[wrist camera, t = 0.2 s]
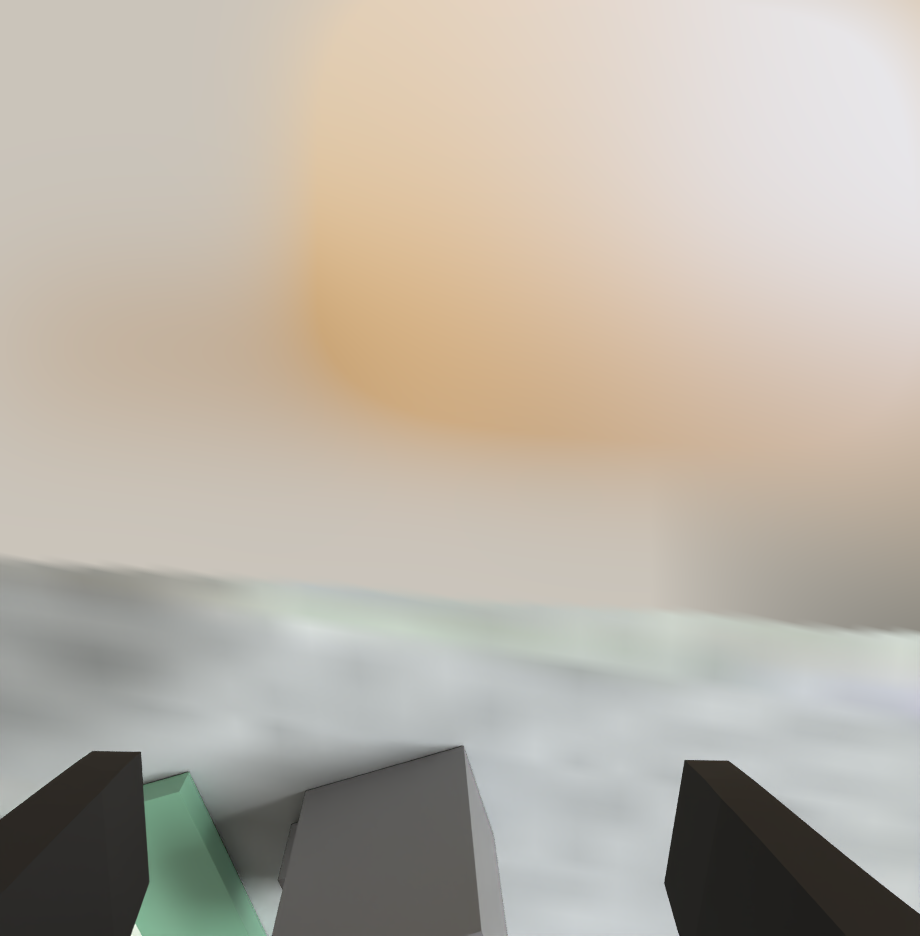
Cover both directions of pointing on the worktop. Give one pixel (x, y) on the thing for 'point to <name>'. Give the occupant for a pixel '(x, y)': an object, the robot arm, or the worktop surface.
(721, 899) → the robot arm
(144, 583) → the worktop surface
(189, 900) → the header board
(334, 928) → the plug
